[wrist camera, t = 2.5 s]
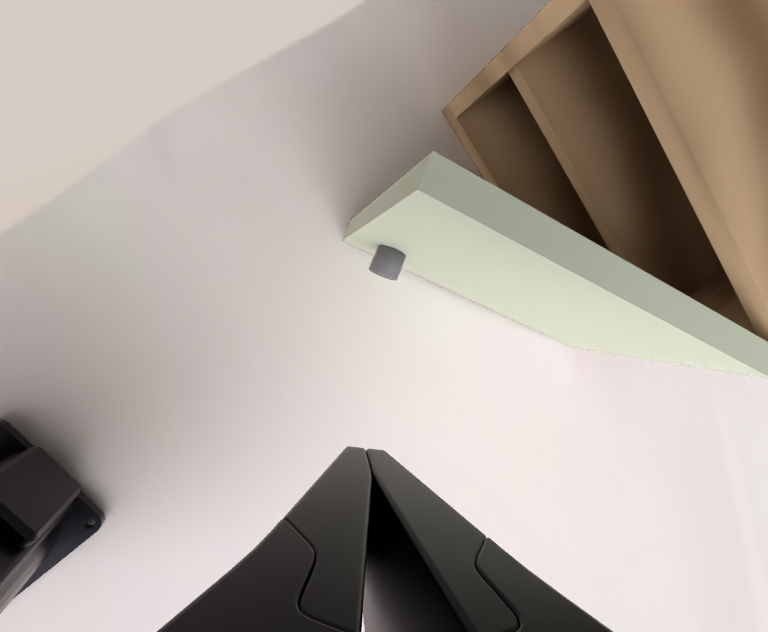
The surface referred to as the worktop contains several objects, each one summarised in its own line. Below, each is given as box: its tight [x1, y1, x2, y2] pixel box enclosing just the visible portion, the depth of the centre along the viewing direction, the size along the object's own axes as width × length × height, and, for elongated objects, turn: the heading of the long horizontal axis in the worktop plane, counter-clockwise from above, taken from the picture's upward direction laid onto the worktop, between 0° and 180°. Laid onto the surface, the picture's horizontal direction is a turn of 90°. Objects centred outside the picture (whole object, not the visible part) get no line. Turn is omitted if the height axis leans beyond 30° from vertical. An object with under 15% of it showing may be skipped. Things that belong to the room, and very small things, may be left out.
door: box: [342, 151, 768, 379], centre depth 19 cm, size 2×16×11 cm, turn 67°
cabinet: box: [442, 0, 768, 342], centre depth 20 cm, size 8×16×11 cm, turn 36°
